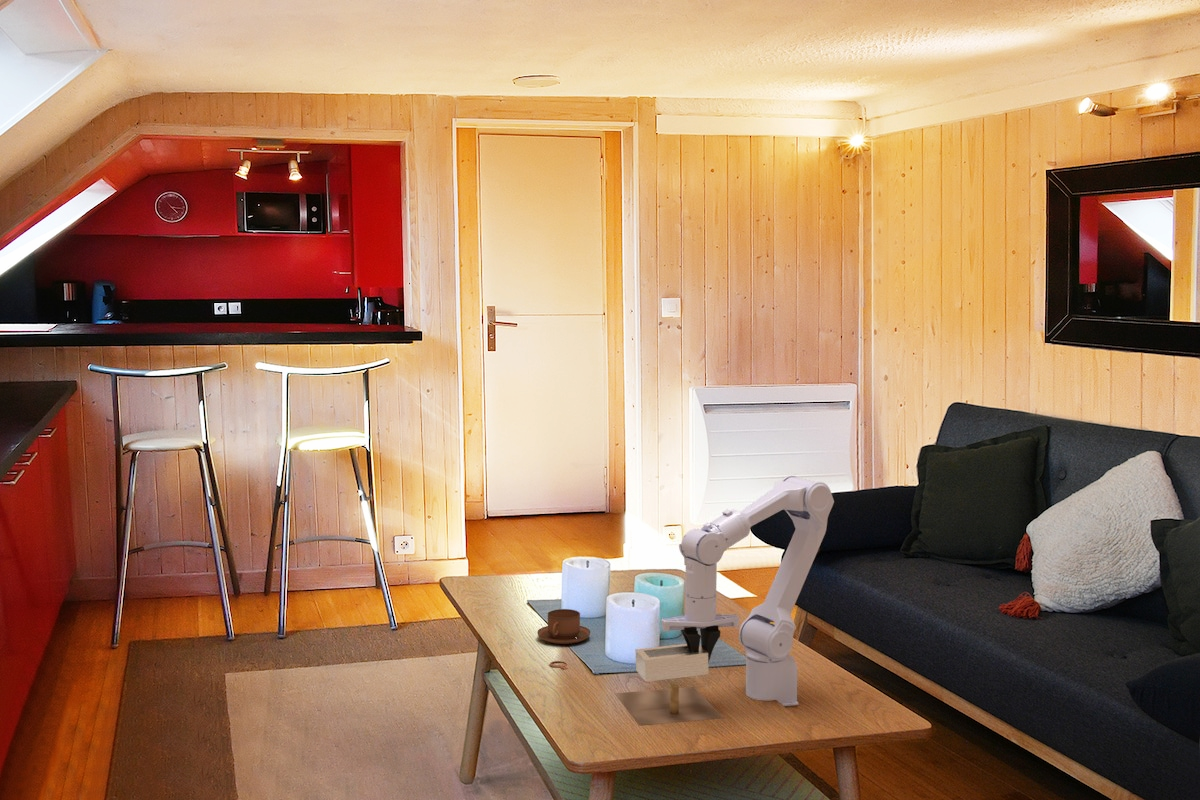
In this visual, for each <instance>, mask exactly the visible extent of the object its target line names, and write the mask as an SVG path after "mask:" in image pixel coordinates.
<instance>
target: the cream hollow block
mask: <svg viewBox="0 0 1200 800" xmlns="http://www.w3.org/2000/svg"><path fill="white" fill-rule="evenodd" d="M709 667H710V666H709V665H708V652H707V651H705V650H704V649H703V648H702V647H701V645H700V644H699V652H693V653H689V649H688V646H687V643H681V644H673V645H671V644H670V645H664V646H654V647H645V648H636V649H635V668H636V669H635V670H636V672H637V674H639V676H640V677H641V678H642V679H643V680H644V682H654V681H662V680H663V681H664V680H670V679H671V680H672V679H678V678H679V679H680V678H687V677H696V676H704V675H705V676H706V675H709V672H710V670H709Z"/></svg>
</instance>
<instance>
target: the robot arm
mask: <svg viewBox="0 0 1200 800" xmlns="http://www.w3.org/2000/svg"><path fill="white" fill-rule="evenodd" d="M834 504H835V500H834V497H833V494H832V492H831V489H830V487H829V486H828V484H826V483H825V482H822V481H814V480H811V479H806V478H805V479H804V478H800V477H797V476H796V475H787V476H785V477H784V478H782V479H781V480H779V481H777V482H775V483H774V484H773V487H772V488H771V489H770V490H769V491H767V492H766V493H764V494H763V495H761V496H760V497H759V498H757V499H755V501H753V502H752V503H750V504H749V505H748V506H746V507H744V508H743V509H742V510H740V511H739V510H737V509H727V508H726V509H725V510H724V511H722V512H721V513H722V515H720V516H719V517H717V518H715V519H714V520H712V521H710V522H705V523H704V524H703V527H701V528H700V529H699V528H692V529H690V530H688V531H687V532H686V533H685V534H684V535H683V537H682V539H681V543H679V544H678V547H679V548H678V549H679V552H680V554H681V556H682V557H683V560H684V561H683V562H684V563H683V564H684V566H685V582H684V583H685V584H684V585H685V589H684V590H685V597H684V602H685V603H684V604H685V605H684V606H685V607H684V615H680V616H679V615H678V616H673V617H669V618H662V619H661V627H660V628H661V630H662V631H663V632H664V633H668V632H670V631H680V632H681V635H682V636H683V639H684V640H685V644H687V646H688V649H689V653H693V652H699V645H700V643H701V645H700V646H701V647H702V648H703V649H704V650H705V651H707V652H708V666H709V664H710V660H711V656H712V653H713V650H714V648H715V645H717V642H718V640H719V639H720V637H721V630H720V629H719V628H726V627H727V628H729V627H732V628H739V630H738V640H739V643H740V644H741V646H743V647H744V654H746V655H745V656H746V657H745V660H746V661H745V695H746V696H747V697H749V698H750V699H753V700H758V701H763V702H764V701H769V702H770V701H777V702H778V703H780V705H782V706H783V707H792V706H798V705H799V702H798V665H797V662H796V660H795V659H796V658H794V656H793V655H792V654H790V652H791V651H792V648H793V642H794V641H793V640H794V635H795V632H796V629H797V627H796V623H795V622H794V620H793V617H792V611H793V609H794V607H795V604H796V603H797V600H798V597H799V595H800V593H801V591H802V589H803V586H804V584H805V581H806V579H807V576H808V574H809V573H810V569H811V568H812V565H813V562H814V560H815V558H816V556H817V554H818V551H819V549H820V546H821V543H822V542H823V539H824V537H825V535H826V532H827V526H828V520H829V519H828V518H829V516H830V512H831V510H832V508H833V506H834ZM782 510H783V511H785V512H786V514H788V517H790V519H791V521H792V523H793V526H794V528H795V530H794V532H793V534H792V536H791V540H790V542H789V543H788V546H787V549H786V551H785V553H784V555H783V558H782V559H781V562H780V565H779V567H778V569H777V572H776V574H775V577H774V579H773V581H772V583H771V585H770V588H769V589H768V592H767V595H766V596H765V599H764V601H763V603H761V604H759V605H757V606H755V607H753V608H752V609H751V611H750V613H749V615H748V617H746V618H745V620H743V621H742V623H741V624H740V616H738V615H737V614H736V613H735V614H733V613H731V614H725V613H724V614H722V613H720V614H719V613H717V578H718V577H717V571H718V570H717V564H718V563H719V561H720V560H721V559H722V557H723V555H724V553H725V551H727V549H729V548H731V547H732V546H734V545H736V544H737V543H739V542H740V541H742V540H743V539H745V538H746V537H749V535H750V531H751V527H753V526H754V525H757V524H758V523H760V522H762V521H764V520H766V519H768V518H770V517H771V516H774V515H775V514H777V513H779V512H781V511H782ZM773 623H774V624H773ZM698 629H699V630H700V634H699V630H698Z"/></svg>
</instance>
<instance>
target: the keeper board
mask: <svg viewBox="0 0 1200 800" xmlns="http://www.w3.org/2000/svg"><path fill="white" fill-rule="evenodd" d="M669 686H670V687H669V688H663V689H653V690H651V689H650V690H642V691H641V690H640V691H639V690H638V691H629V692H615V693H614V694H615V696H616V697H617V698H618V700H619V701H620V702H621V703H622V705H623V706H624V708H625V709H626V711H627V712H628V713H629V714H630V715H631V716H632V718H633V719H634V721H635V722H636V723H637V725H638V726H639V727H640V726H652V725H659V724H661V725H663V724H671V723H673V724H674V723H685V722H693V721H694V722H695V721H705V720H706V721H707V720H715V719H724V717H723V715H722V714H721V713H720V712H719V711H718V710H717V709H716V708H715V707H714V706H713V705H712V704H711V703H710V702H709V700H708V699H706V697H704V696H703V695H702V694H701V692H699V690H698V689H696V687H695V686H688V687H687V686H686V687H680V685H679V683H678V682H677V681H673V682H671V683H670V685H669Z"/></svg>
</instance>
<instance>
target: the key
mask: <svg viewBox="0 0 1200 800" xmlns="http://www.w3.org/2000/svg"><path fill="white" fill-rule="evenodd" d="M549 666H550V667H551V668H558V669H560V670H563V671H569V668H568V667H567V666H568V664H567V662H565V661H561V660H560V661H557V660H556V661H551V662H550V663H549Z"/></svg>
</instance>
